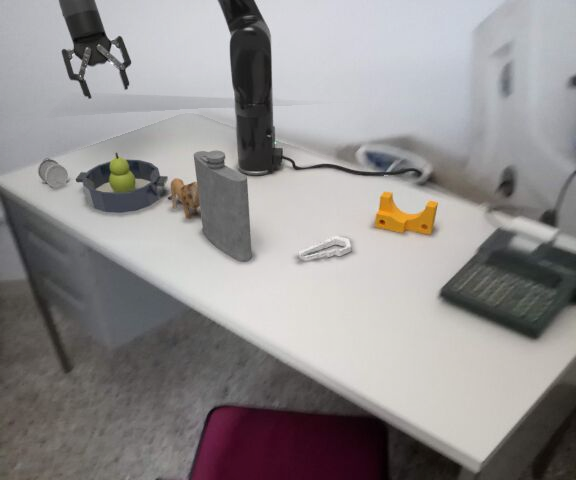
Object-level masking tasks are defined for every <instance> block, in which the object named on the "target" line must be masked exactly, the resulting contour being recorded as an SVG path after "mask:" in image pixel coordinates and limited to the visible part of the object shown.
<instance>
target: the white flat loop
mask: <svg viewBox="0 0 576 480" xmlns="http://www.w3.org/2000/svg"><path fill="white" fill-rule="evenodd" d="M332 246H341V248H340V249H336V248H335V249H334V248H333V249H330V250H328V251H325V250H324V251H321V252H319V251H320V250H323V249H327V248H329V247H330V248H331V247H332ZM317 251H318V252H317ZM351 251H352V245H351V241H350V239H349V238H347V237H342V236H338V235H334V236H331V237H328V238H327V239H323V240H321V241H319V242H318V243H317V242H316V243H315V244H311V245H310V246H308V247H306V248H304V249H300V250H299V251H298V258H299V259H302V260H310V259H315V258H323V257H328V258H330V257H332V256H338V257H342V256H344V255H346V254H349V253H350V252H351ZM314 252H316V253H314ZM309 253H311V254H309Z"/></svg>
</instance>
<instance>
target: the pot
mask: <svg viewBox="0 0 576 480" xmlns="http://www.w3.org/2000/svg"><path fill="white" fill-rule="evenodd" d="M124 159H125V160H126V161H127V162H128V164H129V171H131V172H132V174H133V175H134V177H135V181H136V184H135V190H132V191H126V192H119V193H113V189H112V188H111V186H110V183H109V177H110V174H111V171H110V162H111V160H110V161H107V162H104V163H101V164H98V165H96V166H94V167H92V168H90V169H89V170H87V171H84V172H83V171H81V172H79V174H78V175H77V176H76V178H75V182H76V183H82V185H83V190H84V194H85V197H86V201H87V204H89V206H90V207H92V208H93V209H95V210H98V211H101V212H104V213H117V214H122V213H130V212H136V211H140V210H142V209H145V208H148V207H150V206H152V205H154V203H157V202H158V201H159V200H160V199H161V197H162V195H163V193H164V190H163V187H165V186H166V184H167V182H168V180H169V177H168V176H167V175H161V173H160V170H159V168H158V167H157V166H156V165H154V164H153V163H152V162H148V161H145V160H142V159H128V158H124Z"/></svg>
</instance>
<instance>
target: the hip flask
mask: <svg viewBox="0 0 576 480" xmlns="http://www.w3.org/2000/svg"><path fill="white" fill-rule="evenodd" d="M225 160H226V153H225V152H224V151H222V150H211V151H206V150H199V151H196V152H194V153H193V162H194V169H195V178H196V182H197V187H198V195H199V203H200V206H199V209H200V218H201V227H202V233H203V235H204V236H205V238H206V239H207V240H208V241H209V242H210V243H211V244H212V245H213V246H214V247H216V248H217V249H218V250H220V251H221V252H222V253H225V254H226V255H227V256H228V257H231V258H233V259H235V260H237V261H240V262H249V261H250V260H252V258H253V254H252V251H253V250H252V237H251V236H252V235H251V219H250V203H249V187H248V185H249V184H248V176H247V174H244V173H242V172H241V171H237V170H236V169H233V168H231V167H229V166H227V165H226V163H225V162H226V161H225Z"/></svg>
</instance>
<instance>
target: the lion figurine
mask: <svg viewBox="0 0 576 480" xmlns="http://www.w3.org/2000/svg"><path fill="white" fill-rule="evenodd" d="M170 194H171V195H169V196H168V197H167V199H168V200H171V199H172V209H173V210H177V209H178V206H177V202H176V201H179V202H181V203H182V205H183V209H184V214H185V218H186V220H191V219H192V216H191V214H190V209H192V213H193V215H196V216H199V215H201V212H198V208H200V203H199V195H198V187H197V181H192V182H190V183H187V184H185V183H184V181H183V179H181V178H178V177H177V178H176V177H175V178H173V179H172V180H171V181H170ZM176 198H177V200H176Z"/></svg>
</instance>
